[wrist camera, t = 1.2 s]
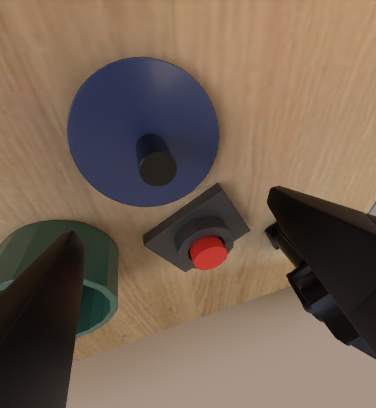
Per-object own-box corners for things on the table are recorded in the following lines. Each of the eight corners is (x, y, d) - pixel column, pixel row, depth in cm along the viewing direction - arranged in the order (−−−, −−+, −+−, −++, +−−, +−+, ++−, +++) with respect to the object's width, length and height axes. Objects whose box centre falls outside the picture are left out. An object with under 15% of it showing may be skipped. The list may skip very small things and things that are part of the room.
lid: (234, 152, 20) (262, 176, 16) (143, 219, 22) (148, 254, 18) (160, 10, 12) (180, -14, 8) (31, 132, 14) (-4, 160, 10)
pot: (137, 252, 24) (141, 300, 20) (75, 296, 26) (64, 350, 21) (50, 200, 17) (22, 256, 12) (-28, 265, 19) (-79, 336, 14)
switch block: (245, 223, 27) (258, 241, 24) (183, 264, 29) (189, 285, 26) (217, 182, 21) (231, 200, 19) (142, 236, 23) (145, 259, 20)
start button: (226, 245, 24) (232, 256, 22) (200, 262, 24) (204, 274, 23) (211, 229, 21) (218, 241, 20) (183, 249, 22) (187, 261, 20)
